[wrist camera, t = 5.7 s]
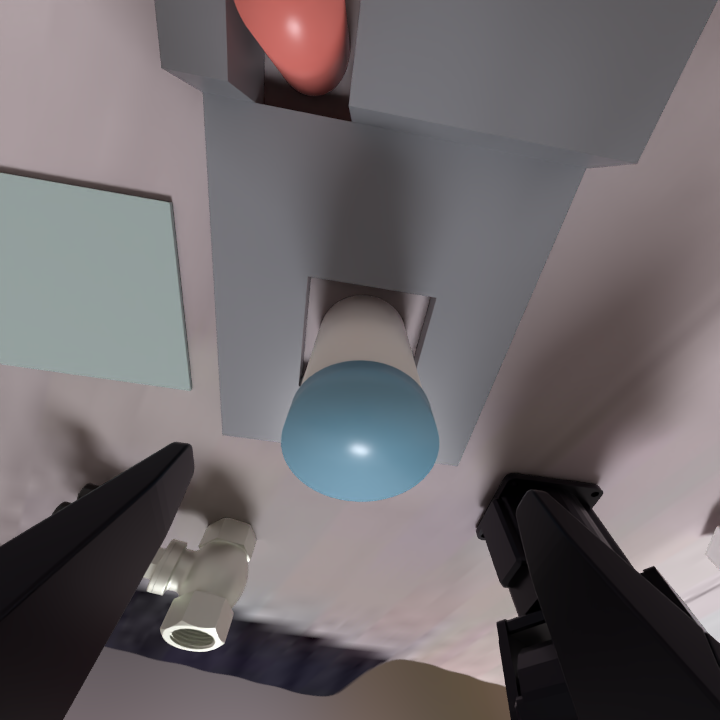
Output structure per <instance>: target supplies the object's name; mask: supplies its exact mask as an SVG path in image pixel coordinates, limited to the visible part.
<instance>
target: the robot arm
mask: <svg viewBox="0 0 720 720" xmlns="http://www.w3.org/2000/svg"><path fill="white" fill-rule="evenodd" d="M193 473H194V458H193V450H192V446H191V445H190V444H188V443H181V442H173V443H171V444H169V445H168V446H166V447H164V448H163V449H161V450H159V451H158V452H156V453H154V454H153V455H151V456H149V457H148V458H146V459H144V460H143V461H141V462H139V463H138V464H136V465H134V466H133V467H131V468H129V469H128V470H126V471H124V472H123V473H121V474H119V475H118V476H116V477H114V478H113V479H111V480H109V481H108V482H106V483H104V484H103V485H101V486H99V487H98V488H96V489H95V490H93V491H91V492H90V493H88V494H86V495H85V496H83V497H81V498H80V499H78V500H76V501H75V502H73V503H71V504H70V505H68V506H66V507H65V508H63V509H61V510H60V511H58V512H56V513H55V514H53V515H51V516H50V517H48V518H46V519H45V520H43V521H41V522H40V523H38V524H36V525H35V526H33V527H31V528H30V529H28V530H26V531H25V532H23V533H21V534H20V535H18V536H17V537H15V538H13V539H12V540H10V541H8V542H7V543H5V544H3V545H2V546H0V720H63V719H64V717H65V715H66V713H67V712H68V710H69V708H70V707H71V705H72V703H73V701H74V699H75V698H76V696H77V694H78V692H79V690H80V689H81V687H82V685H83V683H84V682H85V680H86V678H87V676H88V674H89V673H90V671H91V669H92V667H93V666H94V664H95V662H96V660H97V658H98V657H99V655H100V653H101V651H102V649H103V648H104V646H105V644H106V642H107V641H108V639H109V637H110V635H111V633H112V632H113V630H114V628H115V626H116V625H117V623H118V621H119V619H120V617H121V616H122V614H123V612H124V610H125V609H126V607H127V605H128V603H129V601H130V600H131V598H132V596H133V594H134V593H135V591H136V589H137V587H138V585H139V584H140V582H141V580H142V578H143V576H144V575H145V573H146V571H147V569H148V568H149V566H150V564H151V562H152V560H153V559H154V557H155V555H156V553H157V552H158V550H159V548H160V546H161V544H162V543H163V541H164V539H165V537H166V535H167V533H168V531H169V529H170V526H171V524H172V522H173V520H174V517H175V515H176V513H177V510H178V508H179V506H180V504H181V501H182V499H183V497H184V494H185V492H186V490H187V487H188V485H189V483H190V481H191V478H192V476H193ZM602 495H603V491H602V490H601V488H600V487H599V486H598V485H596V484H590V483H583V482H575V481H568V480H560V479H553V478H545V477H538V476H530V475H523V474H515V473H512V474H508V475H507V476H506V477H505V478H504V479H503V481H502V483H501V485H500V487H499V489H498V491H497V492H496V494H495V496H494V498H493V500H492V502H491V503H490V505H489V507H488V509H487V511H486V513H485V514H484V516H483V518H482V520H481V522H480V524H479V526H478V527H477V529H476V533H477V537H478V538H479V539H481V540H486V543H487V546H488V549H489V552H490V555H491V558H492V561H493V564H494V567H495V570H496V573H497V575H498V578H499V581H500V583H501V585H502V586H503V587H504V588H509V591H510V594H511V597H512V599H513V602H514V605H515V608H516V611H517V613H518V616H519V617H516V618H513V619H510V620H506V619H504V620H501V621H498V622H497V630H498V636H499V647H500V653H501V659H502V666H503V672H504V678H505V685H506V691H507V698H508V703H509V710H510V717H511V720H720V643H719V642H718V641H716V640H715V639H714V638H713V637H712V636H711V635H710V634H709V633H708V632H707V631H706V630H705V628H704V627H703V626H702V624H701V623H700V622H699V621H698V619H697V618H696V617H695V615H694V614H693V613H692V612H691V610H690V609H689V608H688V606H687V605H686V604H685V603H684V601H683V600H682V599H681V598H680V597H679V595H678V594H677V593H676V592H675V591H674V589H673V588H672V587H671V586H670V585H669V583H668V582H667V581H666V580H665V579H664V577H663V576H662V575H661V574H660V573H659V571H658V570H657V569H656V568H655V567H654V566H652V567H650V568H647V569H644V570H643V571H644V572H643V573H638V572H637V571H636V570H635V569H634V568H633V566H632V565H631V563H630V562H629V561H628V559H627V558H626V556H625V555H624V553H623V552H622V551H621V549H620V548H619V546H618V545H617V544H616V542H615V541H614V539H613V538H612V536H611V535H610V534H609V532H608V531H607V529H606V528H605V527H604V525H603V524H602V522H601V521H600V519H599V518H598V517H597V515H596V514H595V512H594V511H593V510H592V508H593V506H594V505H595V504H596V503H597V501H598V500H599V499H600V497H601V496H602Z"/></svg>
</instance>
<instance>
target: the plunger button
mask: <svg viewBox="0 0 720 720" xmlns="http://www.w3.org/2000/svg"><path fill="white" fill-rule="evenodd" d="M234 2H235V5H236V8H237V10H238V12H239V14H240V17H241V18H242V20H243V22H244V24H245V25H246V27H247V28H248V29H249V31H250V32H251V33H252V35H253V36H254V38H255V39H256V40H257V42H258V43H259V44H260V46H261V47H262V48H263V50H264V51H265V53H266V54H267V55H268V57H269V58H270V59H271V61H272V62H273V63H274V65H275V66H276V67H277V69H278V70H279V72H280V73H281V74H282V76H283V77H284V78H285V80H286V81H287V82H288V83H289V84H290V86H292V87H293V88H294V89H295V90H297V91H298V92H300V93H302V94H305V95H308V96H320V95H324V94H326V93H328V92H330V91H331V90H333V89H334V88H335V87H336V86H337V85H338V84H339V82H340V81H341V79H342V78H343V76H344V74H345V71H346V69H347V66H348V62H349V56H350V40H349V31H348V22H347V13H346V4H345V0H234Z"/></svg>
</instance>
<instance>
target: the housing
mask: <svg viewBox="0 0 720 720" xmlns="http://www.w3.org/2000/svg"><path fill="white" fill-rule="evenodd" d="M716 2H717V0H361V3H360V12H359V21H358V29H357V38H356V47H355V55H354V64H353V73H352V81H351V90H350V98H349V110H350V114H351V119H352V122H350V121H345V120H340V119H335V118H329V117H324V116H319V115H314V114H309V113H304V112H299V111H294V110H289V109H284V108H279V107H274V106H269V105H264V50H263V48H262V47H261V46H260V44H259V43H258V42H257V40H256V39H255V38H254V36H253V35H252V33H251V32H250V31H249V29H248V28H247V27H246V25H245V24H244V22H243V20H242V18H241V17H240V14H239V12H238V10H237V8H236V5H235V2H234V0H155V10H156V20H157V30H158V39H159V49H160V59H161V68H162V69H164V70H166V71H167V72H169V73H171V74H173V75H174V76H176V77H178V78H179V79H181V80H183V81H184V82H186V83H188V84H189V85H191V86H193V87H194V88H196V89H198V90H200V91H201V92H203V105H204V122H205V140H206V157H207V174H208V192H209V209H210V226H211V244H212V261H213V278H214V296H215V313H216V330H217V348H218V365H219V382H220V400H221V417H222V434H223V435H227V436H234V437H242V438H249V439H257V440H264V441H272V442H279V443H281V435H282V430H283V427H284V424H285V421H286V418H287V415H288V412H289V409H290V406H291V403H292V401H293V398H294V396H295V394H296V392H297V390H298V389H299V388H300V386H301V384H302V381H303V378H304V377H303V376H302V370H303V359H304V348H305V336H306V325H307V314H308V302H309V291H310V280H311V277H315V278H321V279H327V280H333V281H339V282H345V283H351V284H357V285H363V286H369V287H375V288H381V289H387V290H393V291H399V292H405V293H411V294H417V295H423V296H429V297H431V299H430V303H429V306H428V310H427V314H426V317H425V321H424V324H423V328H422V332H421V335H420V339H419V342H418V346H417V350H416V353H415V357H414V361H415V365H416V369H417V372H418V376H419V379H420V383H421V386H422V389H423V391H424V392H425V394H426V396H427V398H428V400H429V403H430V406H431V409H432V413H433V416H434V420H435V423H436V426H437V430H438V434H439V443H440V444H439V452H438V456H437V459H436V461H435V463H437V464H444V465H452V466H458V464H459V462H460V460H461V457H462V455H463V453H464V450H465V448H466V446H467V444H468V441H469V439H470V437H471V434H472V432H473V430H474V427H475V425H476V423H477V420H478V418H479V416H480V413H481V411H482V409H483V406H484V404H485V402H486V400H487V397H488V395H489V393H490V390H491V388H492V386H493V383H494V381H495V379H496V376H497V374H498V372H499V369H500V367H501V365H502V362H503V360H504V358H505V355H506V353H507V351H508V349H509V346H510V344H511V342H512V339H513V337H514V335H515V332H516V330H517V328H518V325H519V323H520V321H521V318H522V316H523V314H524V311H525V309H526V307H527V305H528V302H529V300H530V298H531V295H532V293H533V291H534V288H535V286H536V284H537V281H538V279H539V277H540V274H541V272H542V270H543V267H544V265H545V263H546V260H547V258H548V256H549V254H550V251H551V249H552V247H553V244H554V242H555V240H556V237H557V235H558V233H559V230H560V228H561V226H562V223H563V221H564V219H565V216H566V214H567V212H568V210H569V207H570V205H571V203H572V200H573V198H574V196H575V193H576V191H577V189H578V186H579V184H580V182H581V179H582V177H583V175H584V172H585V170H586V168H596V167H606V166H617V165H627V164H637V162H638V160H639V158H640V156H641V154H642V152H643V150H644V148H645V146H646V144H647V142H648V140H649V138H650V136H651V134H652V132H653V130H654V128H655V126H656V124H657V122H658V120H659V118H660V116H661V114H662V112H663V110H664V108H665V106H666V104H667V102H668V100H669V98H670V96H671V94H672V92H673V90H674V87H675V85H676V83H677V81H678V79H679V77H680V75H681V73H682V71H683V69H684V67H685V65H686V63H687V61H688V59H689V57H690V55H691V53H692V51H693V49H694V47H695V45H696V43H697V41H698V39H699V37H700V35H701V33H702V31H703V29H704V27H705V25H706V23H707V21H708V19H709V17H710V15H711V13H712V11H713V9H714V6H715V4H716Z"/></svg>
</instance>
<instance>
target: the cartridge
mask: <svg viewBox="0 0 720 720" xmlns="http://www.w3.org/2000/svg"><path fill="white" fill-rule="evenodd" d="M439 444H440V443H439V434H438V430H437V426H436V423H435V420H434V416H433V413H432V409H431V406H430V403H429V400H428V398H427V396H426V394H425V392H424V391H423V389H422V386H421V383H420V379H419V376H418V372H417V369H416V365H415V361H414V358H413V354H412V351H411V347H410V344H409V340H408V337H407V333H406V330H405V326H404V323H403V320H402V318H401V316H400V314H399V313H398V312H397V310H396V309H395V308H394V307H393V306H392V305H390V304H389V303H388V302H386V301H384V300H382V299H380V298H377V297H374V296H369V295H356V296H351V297H347V298H345V299H343V300H341V301H339V302H337V303H336V304H335V305H333V306H332V307H331V308H330V309H329V310H328V312H327V313H326V315H325V316H324V318H323V320H322V323H321V326H320V329H319V332H318V335H317V338H316V341H315V344H314V347H313V350H312V354H311V357H310V360H309V363H308V366H307V369H306V372H305V375H304V378H303V381H302V384H301V386H300V388H299V389H298V390H297V392H296V394H295V396H294V398H293V401H292V403H291V406H290V409H289V412H288V415H287V418H286V421H285V424H284V427H283V430H282V435H281V448H282V452H283V456H284V458H285V461H286V463H287V465H288V466H289V468H290V469H291V471H292V472H293V473H294V475H295V476H296V477H297V478H298V479H299V480H300V481H302V482H303V483H304V484H306V485H307V486H308V487H310V488H312V489H313V490H315V491H317V492H319V493H321V494H324V495H326V496H329V497H332V498H336V499H340V500H346V501H356V502H367V501H377V500H382V499H387V498H390V497H394V496H396V495H399V494H401V493H403V492H405V491H407V490H409V489H411V488H412V487H414V486H415V485H417V484H418V483H419V482H420V481H421V480H423V479H424V478H425V476H426V475H427V474H428V473H429V472H430V470H431V469H432V467H433V466H434V463H435V461H436V459H437V456H438V452H439Z"/></svg>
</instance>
